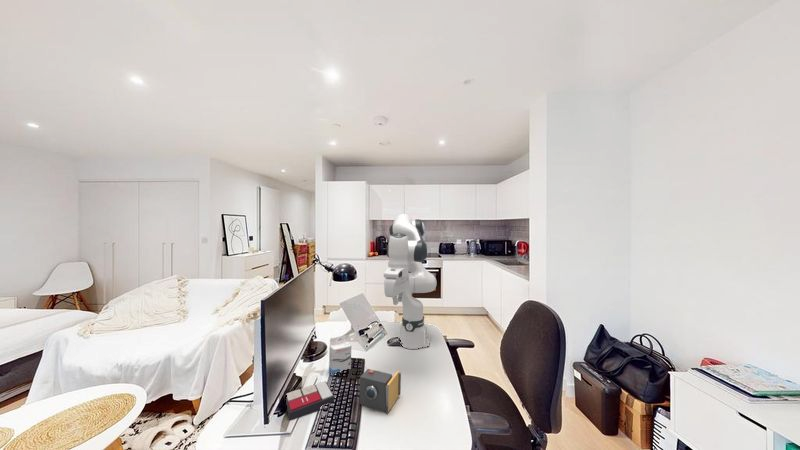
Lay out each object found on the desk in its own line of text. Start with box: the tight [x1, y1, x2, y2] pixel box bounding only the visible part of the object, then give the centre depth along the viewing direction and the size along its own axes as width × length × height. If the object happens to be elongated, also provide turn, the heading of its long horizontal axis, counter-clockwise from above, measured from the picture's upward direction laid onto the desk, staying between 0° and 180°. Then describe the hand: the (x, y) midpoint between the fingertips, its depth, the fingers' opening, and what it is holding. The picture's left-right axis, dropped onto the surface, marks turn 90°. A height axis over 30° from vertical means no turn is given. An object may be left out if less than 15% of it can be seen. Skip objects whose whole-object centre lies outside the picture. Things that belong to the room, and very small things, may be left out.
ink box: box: [328, 334, 352, 374], centre depth 117 cm, size 8×5×15 cm, turn 123°
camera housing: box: [359, 368, 393, 413], centre depth 95 cm, size 7×10×11 cm
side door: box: [384, 370, 402, 414], centre depth 95 cm, size 11×2×9 cm, turn 159°
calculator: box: [285, 380, 335, 421], centre depth 95 cm, size 11×4×15 cm
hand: (397, 302), depth 115 cm, fingers open, 3 cm apart
